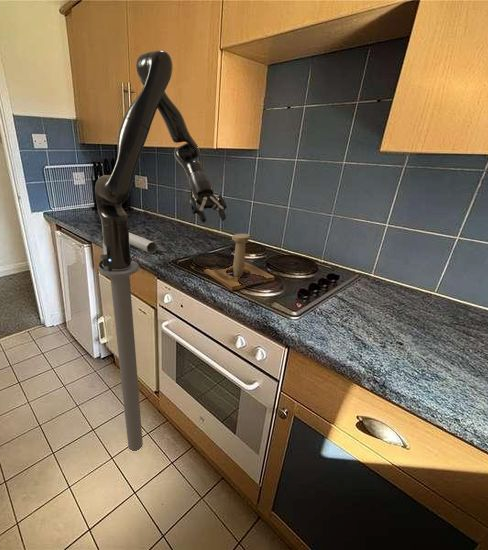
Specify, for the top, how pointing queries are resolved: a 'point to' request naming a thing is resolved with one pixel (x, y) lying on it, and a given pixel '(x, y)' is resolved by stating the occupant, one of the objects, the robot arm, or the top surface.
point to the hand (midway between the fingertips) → (214, 220)
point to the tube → (142, 243)
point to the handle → (239, 253)
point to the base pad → (233, 281)
